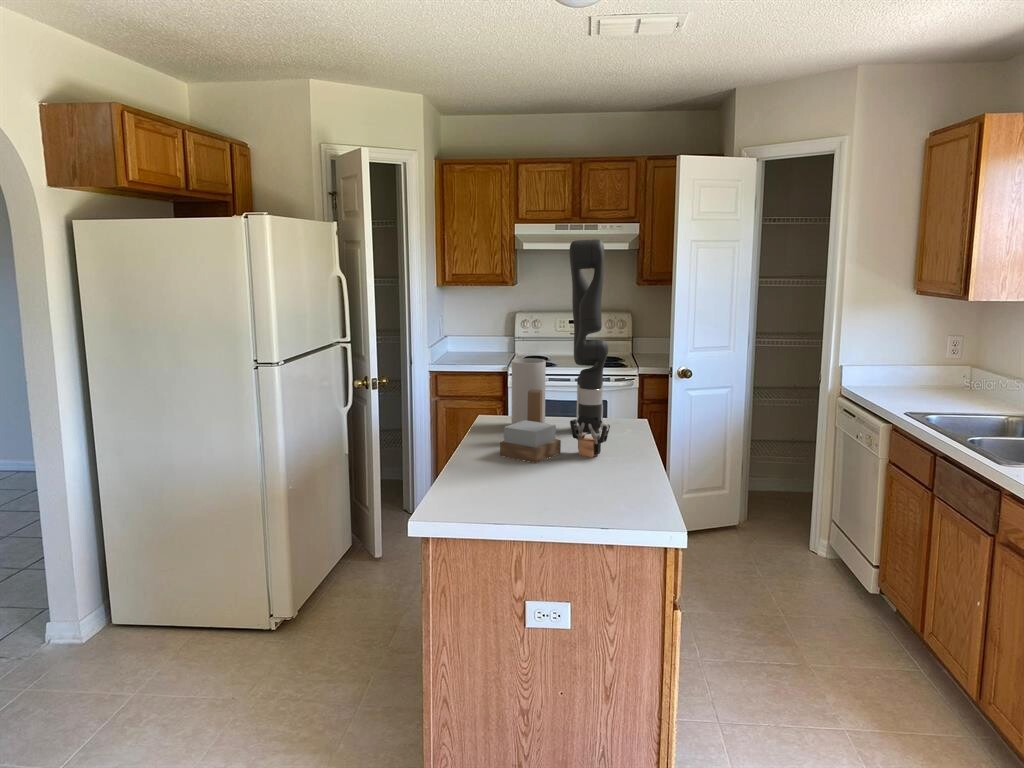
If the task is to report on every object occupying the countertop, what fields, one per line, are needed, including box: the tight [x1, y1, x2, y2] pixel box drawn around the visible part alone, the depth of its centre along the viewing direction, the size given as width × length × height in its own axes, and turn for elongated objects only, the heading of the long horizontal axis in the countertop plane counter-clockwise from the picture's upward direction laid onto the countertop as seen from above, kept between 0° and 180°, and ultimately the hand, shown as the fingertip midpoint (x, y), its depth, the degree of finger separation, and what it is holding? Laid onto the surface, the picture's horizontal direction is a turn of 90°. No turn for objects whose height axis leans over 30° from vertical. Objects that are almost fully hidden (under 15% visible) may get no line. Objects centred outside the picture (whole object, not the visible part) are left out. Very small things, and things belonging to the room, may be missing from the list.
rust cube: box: [578, 436, 601, 458], centre depth 238 cm, size 5×5×5 cm
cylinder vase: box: [511, 357, 547, 425], centre depth 274 cm, size 12×12×25 cm
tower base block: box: [499, 438, 562, 464], centre depth 238 cm, size 14×14×5 cm
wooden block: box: [527, 390, 543, 423], centre depth 252 cm, size 9×4×18 cm, turn 80°
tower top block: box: [503, 420, 557, 448], centre depth 237 cm, size 12×12×5 cm
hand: (589, 453), depth 239 cm, fingers closed on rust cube, 5 cm apart
